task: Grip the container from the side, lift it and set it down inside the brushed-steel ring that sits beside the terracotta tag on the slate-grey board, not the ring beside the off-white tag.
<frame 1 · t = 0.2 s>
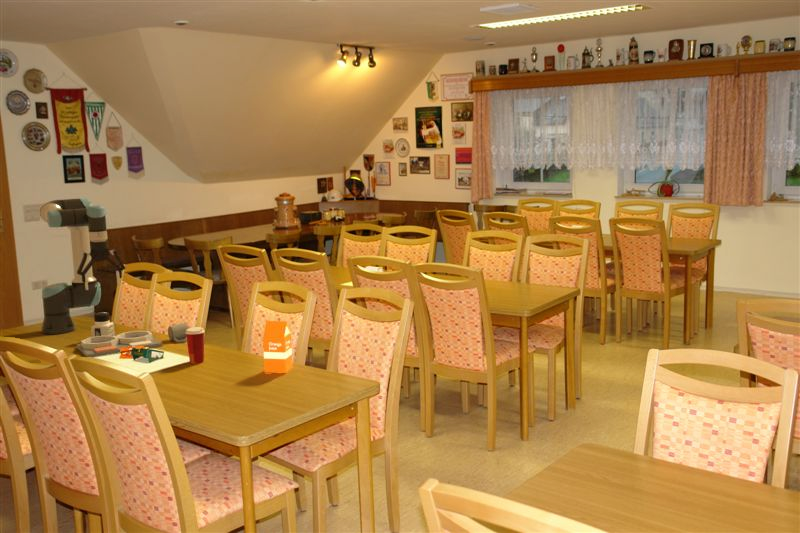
hand: (103, 287, 345), 27 cm above the table, tool pointing down, fingers open, 13 cm apart
orange juice: (278, 371, 303), on the table
ceramic mug: (180, 341, 357), on the table
ring board: (119, 346, 347), on the table
container: (103, 340, 360), on the table
paper cup: (196, 362, 318), on the table
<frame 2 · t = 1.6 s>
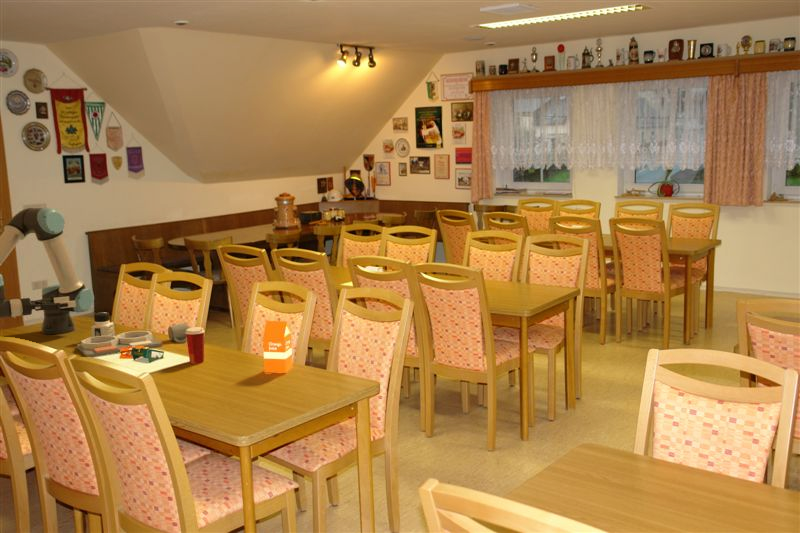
hand: (72, 301, 351), 20 cm above the table, tool horizontal, fingers open, 13 cm apart
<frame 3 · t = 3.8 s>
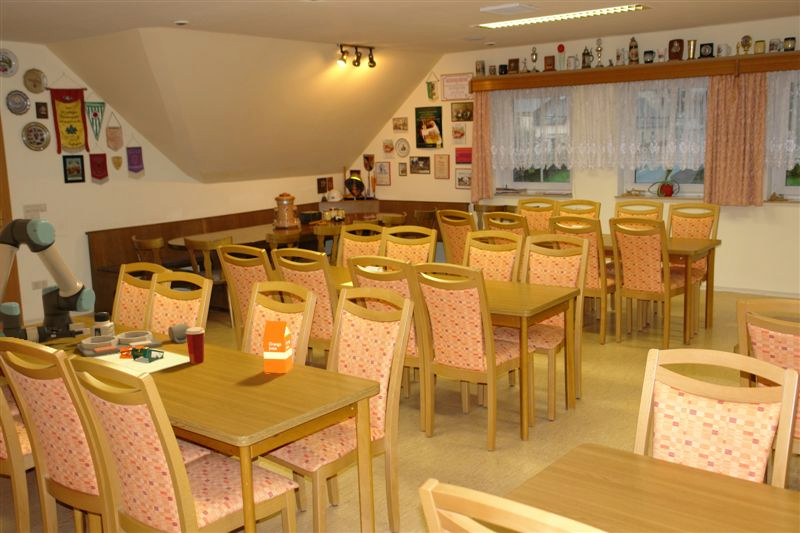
hand: (87, 328, 355), 7 cm above the table, tool horizontal, fingers open, 13 cm apart
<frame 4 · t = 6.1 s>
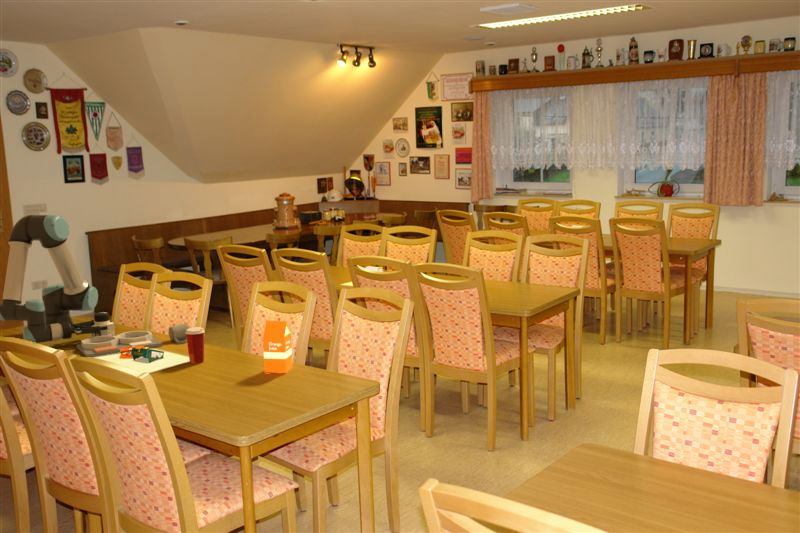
hand: (111, 324, 362), 7 cm above the table, tool horizontal, fingers closed on container, 10 cm apart
container: (103, 340, 360), on the table, touching gripper
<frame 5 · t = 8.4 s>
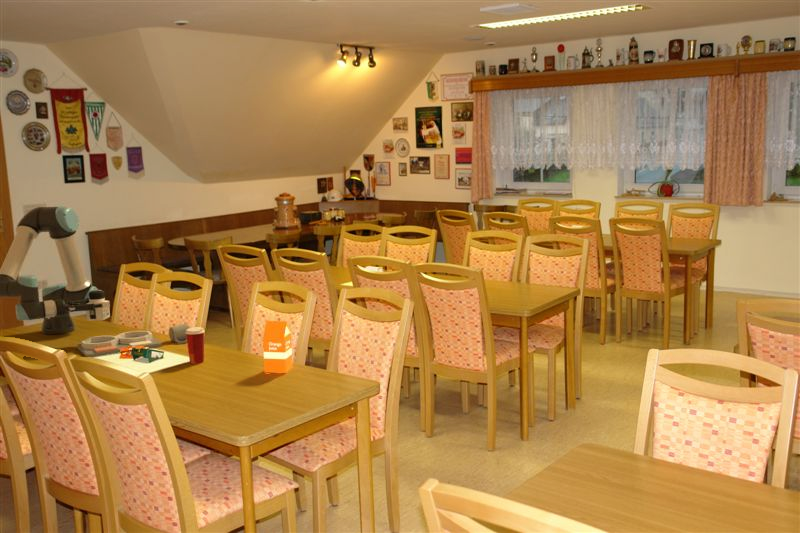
hand: (106, 302, 354), 19 cm above the table, tool horizontal, fingers closed on container, 10 cm apart
container: (98, 319, 352), point 11 cm above the table, touching gripper
when the fingers open (10 cm above the table, at t = 11.0 s): container drops 1 cm, resting on ring board.
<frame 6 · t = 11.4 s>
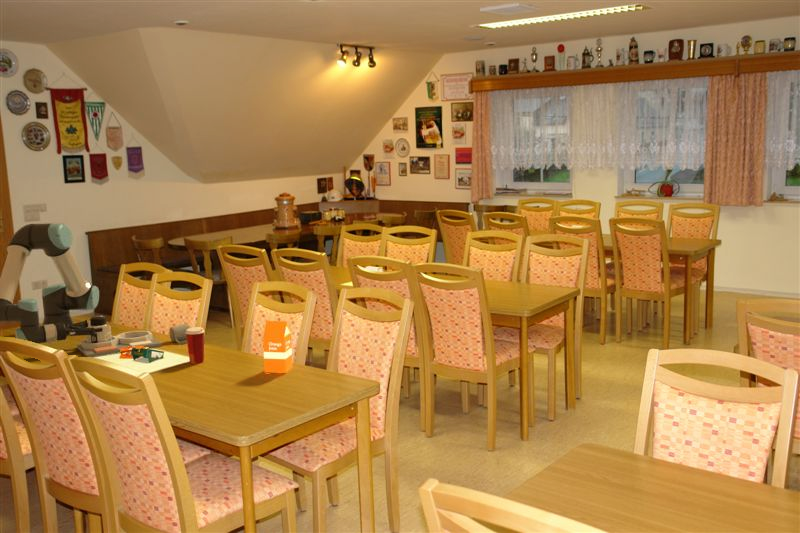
hand: (106, 325, 346), 10 cm above the table, tool horizontal, fingers open, 13 cm apart
container: (100, 345, 345), point 1 cm above the table, touching ring board
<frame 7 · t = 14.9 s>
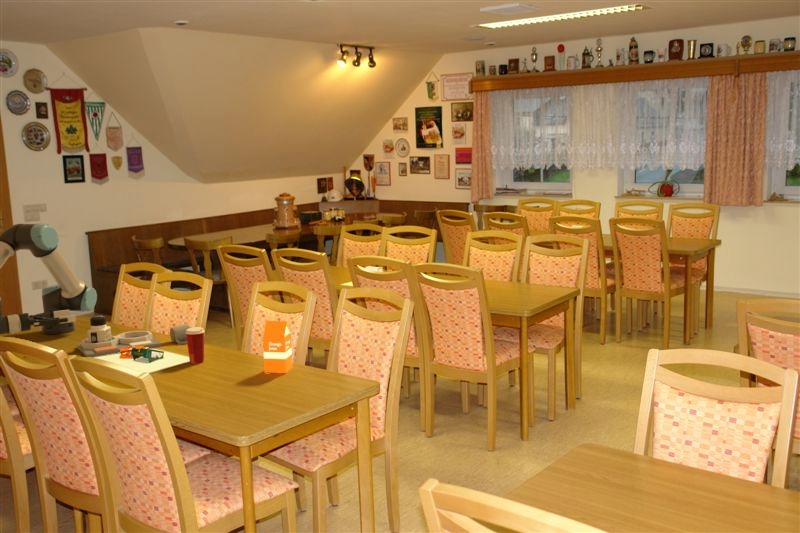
hand: (72, 315, 339), 16 cm above the table, tool horizontal, fingers open, 13 cm apart
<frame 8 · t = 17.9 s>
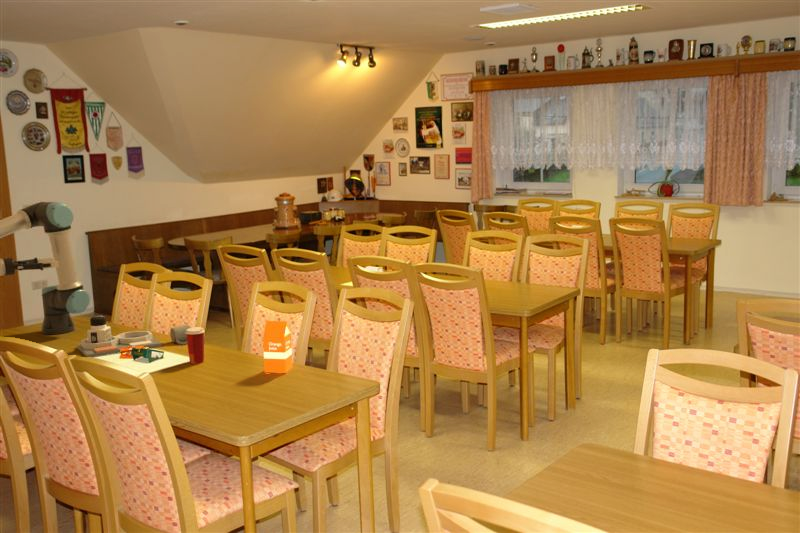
hand: (56, 262, 350), 38 cm above the table, tool horizontal, fingers open, 13 cm apart
at the end: container 0.3 cm from the target spot on the ring board, point 1.3 cm above the ring board's base; container tilted 0°; the gripper is holding nothing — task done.
